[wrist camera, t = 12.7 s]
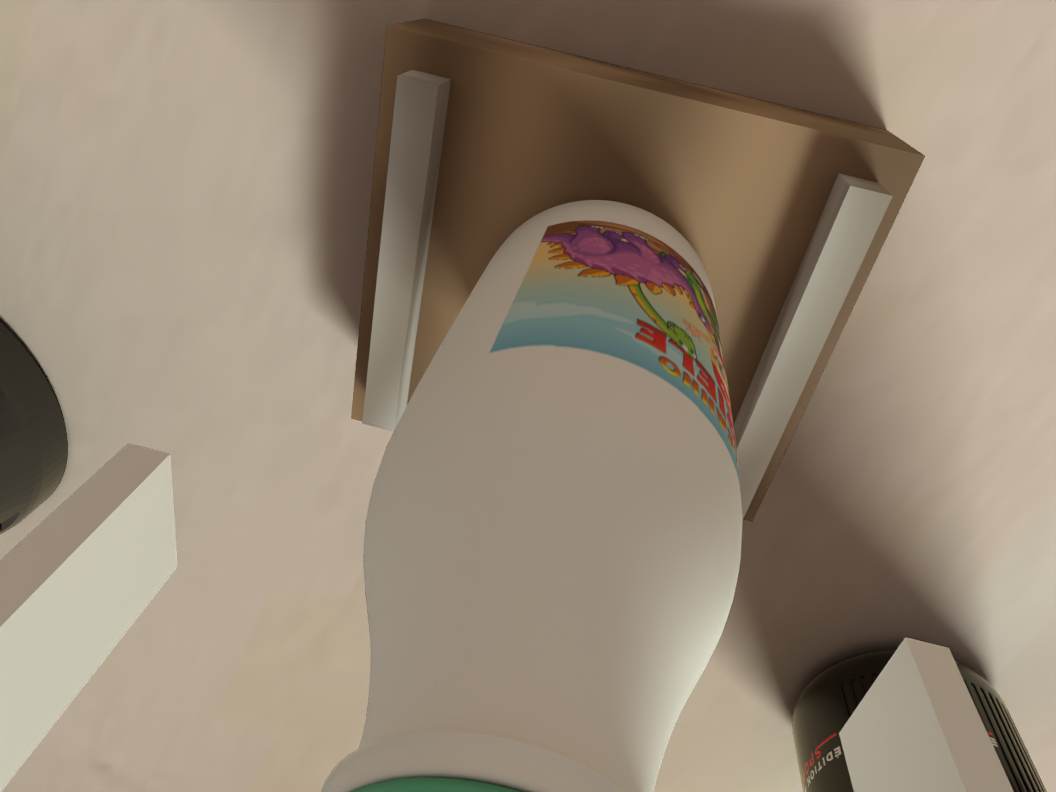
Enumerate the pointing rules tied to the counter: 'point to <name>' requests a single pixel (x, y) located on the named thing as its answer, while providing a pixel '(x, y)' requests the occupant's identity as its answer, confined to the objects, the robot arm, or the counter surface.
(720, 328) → the display riser
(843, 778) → the black water bottle
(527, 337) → the milk bottle
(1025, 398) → the counter surface
